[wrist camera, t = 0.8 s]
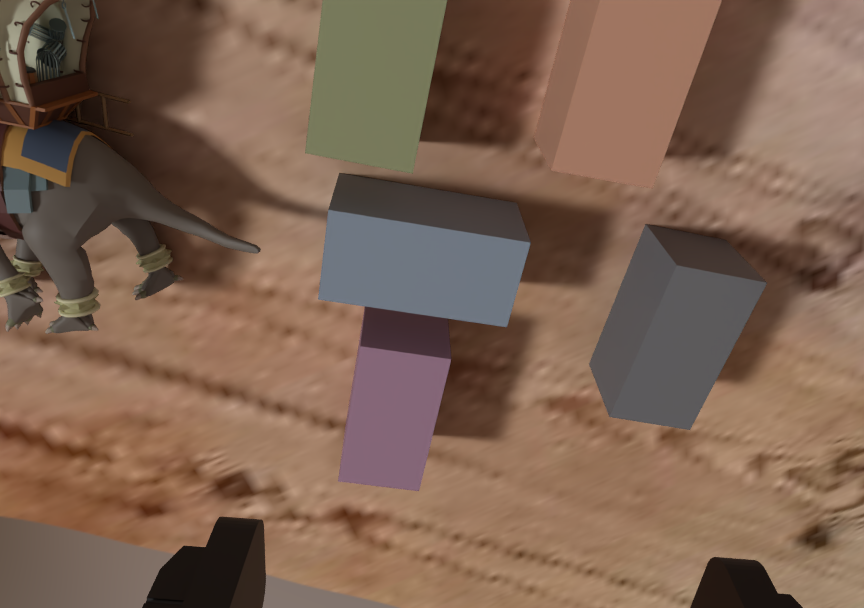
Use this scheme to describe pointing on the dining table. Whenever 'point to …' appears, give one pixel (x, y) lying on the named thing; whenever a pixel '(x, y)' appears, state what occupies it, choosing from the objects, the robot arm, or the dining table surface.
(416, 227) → the slate blue brick
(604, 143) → the terracotta brick
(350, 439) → the plum brick
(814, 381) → the dining table surface
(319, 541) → the dining table surface
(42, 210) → the figurine
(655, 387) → the charcoal brick
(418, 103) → the olive brick
